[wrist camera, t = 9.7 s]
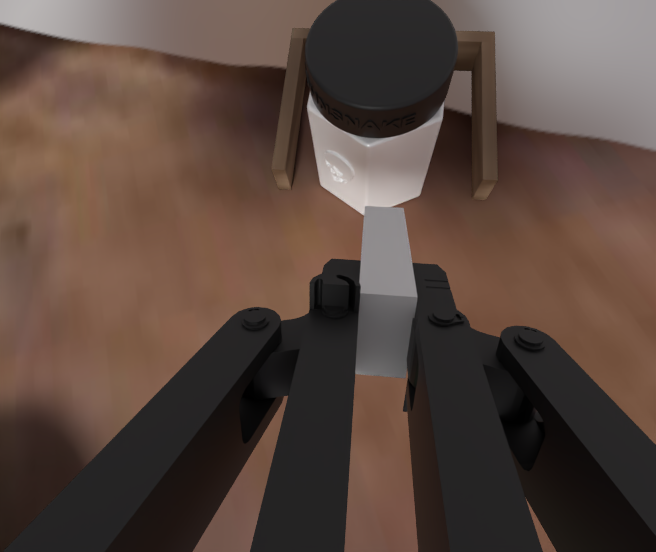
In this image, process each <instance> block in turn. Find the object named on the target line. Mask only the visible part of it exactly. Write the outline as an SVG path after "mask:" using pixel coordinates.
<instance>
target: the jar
mask: <svg viewBox="0 0 656 552" xmlns="http://www.w3.org/2000/svg"><path fill="white" fill-rule="evenodd" d="M457 56H458V40H457V35H456V32H455V29H454V27H453V24H452V23H451V21H450V19H449V18H448V16H447V15H446V14H445V13H444V11H443V10H442V9H441V8H439V7H438V6H437V5H436V4H435V3H433V2H432V1H431V0H337V1H335V2H334V3H332V4H331V5H329V6H328V7H327V8H326V9H325V10H324V11H323V12H322V13H321V14H320V15H319V16H318V17H317V19H316V20H315V21H314V23H313V25H312V26H311V28H310V30H309V33H308V35H307V39H306V43H305V68H306V70H305V71H306V77H307V83H308V87H309V88H310V94H309V99H308V104H307V111H308V117H309V123H310V128H311V134H312V140H313V146H314V151H315V157H316V163H317V169H318V174H319V180H320V185H321V186H322V187H324V188H325V189H326V190H328V191H329V192H331V193H332V194H334V195H335V196H337V197H338V198H339V199H341V200H342V201H344V202H345V203H347V204H348V205H349V206H351V207H352V208H354V209H355V210H357V211H358V212H360V213H361V214H362V215H364V212H365V206H376V207H392V206H395V205H398V204H400V203H403V202H405V201H408V200H411V199H413V198H416V197H418V196H420V194H421V191H422V187H423V184H424V181H425V177H426V174H427V171H428V167H429V164H430V160H431V157H432V154H433V150H434V147H435V144H436V140H437V137H438V133H439V130H440V127H441V123H442V120H443V112H444V101H445V98H446V95H447V92H448V89H449V85H450V82H451V78H452V75H453V71H454V68H455V64H456V61H457Z"/></svg>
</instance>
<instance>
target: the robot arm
mask: <svg viewBox="0 0 656 552" xmlns="http://www.w3.org/2000/svg"><path fill="white" fill-rule="evenodd" d="M407 370H408V381H407V387H406V394H405V400H404V407H403V411H404V412H408V425H409V437H410V450H411V463H412V476H413V488H414V501H415V514H416V527H417V539H418V552H543V551H542V548H541V545H540V542H539V539H538V535H537V532H536V529H535V526H534V523H533V520H532V517H531V514H530V511H529V507H528V504H527V501H528V502H529V504H530V506H531V507H532V509H533V511H534V513H535V514H536V516H537V518H538V520H539V521H540V523H541V525H542V527H543V528H544V530H545V532H546V534H547V535H548V537H549V539H550V541H551V542H552V544H553V546H554V548H555V549H556V551H557V552H656V445H655V444H654V443H653V442H652V441H651V440H650V439H649V438H648V436H647V435H646V434H645V433H644V432H643V431H642V430H641V429H640V428H639V427H638V426H637V425H636V424H635V423H634V422H633V421H632V420H631V419H630V418H629V417H628V416H627V415H626V414H625V413H624V412H623V411H622V410H621V409H620V408H619V406H618V405H617V404H616V403H615V402H614V401H613V400H612V399H611V398H610V397H609V396H608V395H607V394H606V393H605V392H604V391H603V390H602V389H601V388H600V387H599V386H598V385H597V384H596V383H595V382H594V381H593V380H592V379H591V378H590V377H589V375H588V374H587V373H586V372H585V371H584V370H583V369H582V368H581V367H580V366H579V365H578V364H577V363H576V362H575V361H574V360H573V359H572V358H571V357H570V356H569V355H568V354H567V353H566V352H565V351H564V350H563V349H562V348H561V347H560V345H559V344H558V343H557V342H556V341H555V340H554V339H552V338H551V337H550V336H548V335H547V334H545V333H543V332H541V331H539V330H537V329H534V328H530V327H526V326H512V327H507V328H506V329H504V330H503V331H502V332H501V336H500V338H499V337H496V336H492V335H488V334H485V333H482V332H479V331H476V330H474V329H472V328H471V327H470V324H469V321H468V320H467V318H466V316H465V315H463V314H462V313H461V312H459V311H458V310H457V309H456V306H455V303H454V299H453V296H452V292H451V290H450V286H449V283H448V279H447V276H446V272H444V271H443V270H442V269H441V268H440V267H439V266H438V265H435V264H420V263H412V259H411V253H410V246H409V240H408V234H407V227H406V221H405V215H404V208H393V207H376V206H365V212H364V225H363V239H362V253H361V261H358V260H344V259H331V260H330V261H329V262H327V263H326V264H325V265H324V268H323V272H322V274H319V275H318V276H316V277H314V278H313V279H312V280H311V282H310V310H309V313H308V314H306V315H305V316H302V317H299V318H296V319H291V320H283V321H281V319H280V316H279V315H278V314H277V313H276V312H275V311H273V310H270V309H268V308H261V307H254V308H247V309H244V310H242V311H239V312H237V313H236V314H235V315H233V316H232V317H231V318H230V319H229V320H228V321H227V322H226V323H225V324H224V325H223V326H222V327H221V328H220V329H219V330H218V331H217V332H216V333H215V334H214V335H213V336H212V337H211V339H210V340H209V341H208V342H207V343H206V344H205V345H204V346H203V347H202V348H201V349H200V350H199V351H198V352H197V353H196V354H195V355H194V356H193V357H192V358H191V359H190V360H189V361H188V362H187V363H186V364H185V365H184V366H183V367H182V368H181V369H180V370H179V371H178V372H177V373H176V374H175V375H174V377H173V378H172V379H171V380H170V381H169V382H168V383H167V384H166V385H165V386H164V387H163V388H162V389H161V390H160V391H159V392H158V393H157V394H156V395H155V396H154V397H153V398H152V399H151V400H150V401H149V402H148V403H147V404H146V405H145V406H144V407H143V408H142V409H141V410H140V411H139V412H138V413H137V414H136V416H135V417H134V418H133V419H132V420H131V421H130V422H129V423H128V424H127V425H126V426H125V427H124V428H123V429H122V430H121V431H120V432H119V433H118V434H117V435H116V436H115V437H114V438H113V439H112V440H111V441H110V442H109V443H108V444H107V445H106V446H105V447H104V448H103V449H102V450H101V451H100V452H99V453H98V455H97V456H96V457H95V458H94V459H93V460H92V461H91V462H90V463H89V464H88V465H87V466H86V467H85V468H84V469H83V470H82V471H81V472H80V473H79V474H78V475H77V476H76V477H75V478H74V479H73V480H72V481H71V482H70V483H69V484H68V485H67V486H66V487H65V488H64V489H63V490H62V491H61V493H60V494H59V495H58V496H57V497H56V498H55V499H54V500H53V501H52V502H51V503H50V504H49V505H48V506H47V507H46V508H45V509H44V510H43V511H42V512H41V513H40V514H39V515H38V516H37V517H36V518H35V519H34V520H33V521H32V522H31V523H30V524H29V525H28V526H27V527H26V528H25V529H24V530H23V532H22V533H21V534H20V535H19V536H18V537H17V538H16V539H15V540H14V541H13V542H12V543H11V544H10V545H9V546H8V547H7V548H6V549H5V550H4V551H3V552H192V551H193V550H194V548H195V546H196V545H197V543H198V542H199V540H200V538H201V537H202V535H203V533H204V532H205V530H206V528H207V527H208V525H209V523H210V522H211V520H212V518H213V517H214V515H215V513H216V512H217V510H218V508H219V507H220V505H221V503H222V502H223V500H224V498H225V497H226V495H227V493H228V492H229V490H230V488H231V487H232V485H233V483H234V482H235V480H236V478H237V477H238V475H239V473H240V472H241V470H242V468H243V467H244V465H245V463H246V462H247V460H248V458H249V457H250V455H251V453H252V452H253V450H254V448H255V447H256V445H257V443H258V442H259V440H260V438H261V437H262V435H263V433H264V432H265V430H266V428H267V427H268V425H269V423H270V422H271V420H272V418H273V417H274V415H275V413H276V412H277V410H278V408H279V407H280V405H281V403H282V401H283V397H284V396H287V395H288V399H287V403H286V407H285V411H284V416H283V420H282V424H281V428H280V432H279V436H278V440H277V444H276V448H275V452H274V456H273V460H272V464H271V468H270V472H269V476H268V481H267V485H266V489H265V493H264V497H263V501H262V505H261V509H260V513H259V517H258V521H257V525H256V529H255V533H254V537H253V541H252V546H251V550H250V552H344V545H345V529H346V513H347V497H348V481H349V465H350V448H351V432H352V416H353V400H354V384H355V374H362V375H374V376H385V377H397V378H406V371H407ZM537 411H538V412H537ZM525 497H526V498H525ZM526 499H527V501H526Z"/></svg>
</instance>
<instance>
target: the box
mask: <svg viewBox="0 0 656 552" xmlns="http://www.w3.org/2000/svg"><path fill="white" fill-rule="evenodd" d="M309 30H310V29H305V28H293V29H292V35H291V42H290V49H289V55H288V62H287V69H286V75H285V82H284V89H283V95H282V102H281V109H280V115H279V122H278V129H277V135H276V142H275V149H274V155H273V162H272V172H273V175H274V178H275V180H276V183H277V186H278V188H279V189H285V190H291V187H292V180H293V172H294V165H295V157H296V150H297V142H298V135H299V127H300V120H301V112H302V105H303V97H304V90H305V82H306V71H305V70H306V68H305V43H306V39H307V35H308V33H309ZM455 32H456V35H457V40H458V56H457V61H456V64H455V68H454V70H459V71H472V199H474V200H486V198H487V197H488V195H489V193H490V192H491V190H492V189H493V187H494V185H495V184H496V182H497V181H498V167H497V119H496V74H495V73H496V72H495V32H480V31H455Z"/></svg>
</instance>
